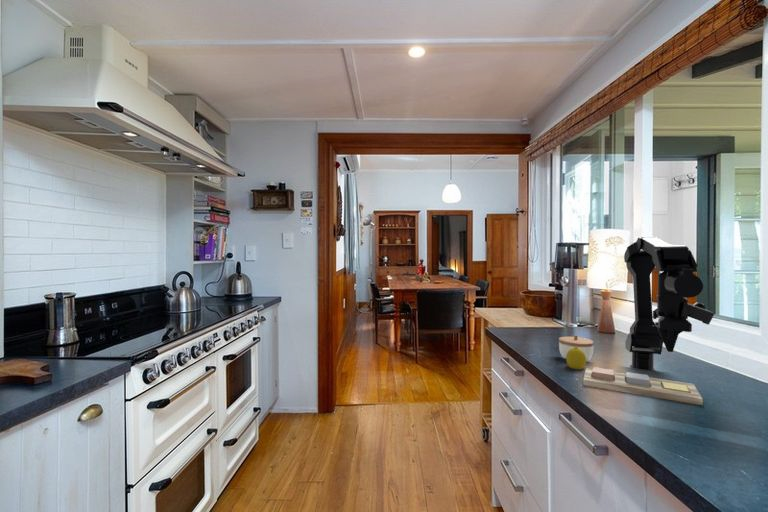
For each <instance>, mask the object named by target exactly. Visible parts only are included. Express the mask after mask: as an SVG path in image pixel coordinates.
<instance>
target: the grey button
mask: <svg viewBox="0 0 768 512" xmlns="http://www.w3.org/2000/svg"><path fill="white" fill-rule="evenodd" d="M625 374H626V382H625V383H631V384H637V385H643V386H649V387H650V379H649V377H650V376H649V375H648V374H643V373H637V372H629V371H626V372H625Z"/></svg>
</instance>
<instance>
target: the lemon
mask: <svg viewBox="0 0 768 512" xmlns="http://www.w3.org/2000/svg"><path fill="white" fill-rule="evenodd" d="M565 360H566V364H567V366H568V368H570V369H572V370H573V369H574V370H583V369H585V367H586V365H587V361H586V356H585V354H584V352H583V351H582V350H581V349H579V348H578V347H575V348H572V349H570V350H569V351H568V353H567V357H566V359H565Z"/></svg>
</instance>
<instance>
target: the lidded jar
mask: <svg viewBox="0 0 768 512" xmlns="http://www.w3.org/2000/svg"><path fill="white" fill-rule="evenodd" d="M594 345H595V343H594V341H593V340H592V339H589V338H584V337H580V336H578V335H577V334H574V335H573V336H560V337H558V347H559V348H558V350H559V353H560V355H561V357H562V358H563V359H565V360H566V357H567V353H568V351H569V350H570V349H572V348H575V347H578V348H579V349H581V350H582V351H583V352H584V354H585V356H586V362H589V361H590V359H591V358H592V357H593V352H594Z"/></svg>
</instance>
